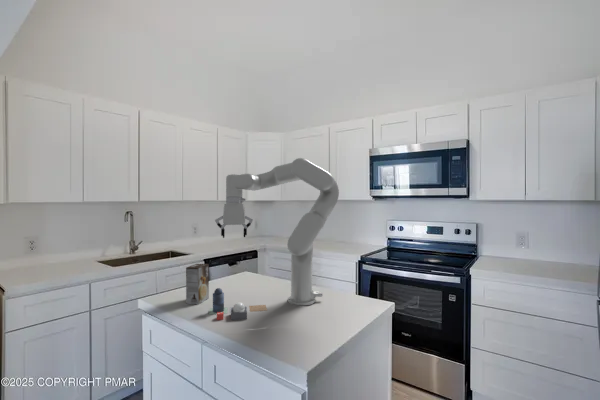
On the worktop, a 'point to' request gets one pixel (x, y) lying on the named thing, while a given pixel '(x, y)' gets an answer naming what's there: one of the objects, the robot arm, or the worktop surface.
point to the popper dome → (238, 307)
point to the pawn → (218, 301)
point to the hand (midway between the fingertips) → (234, 237)
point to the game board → (238, 314)
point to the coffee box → (197, 283)
